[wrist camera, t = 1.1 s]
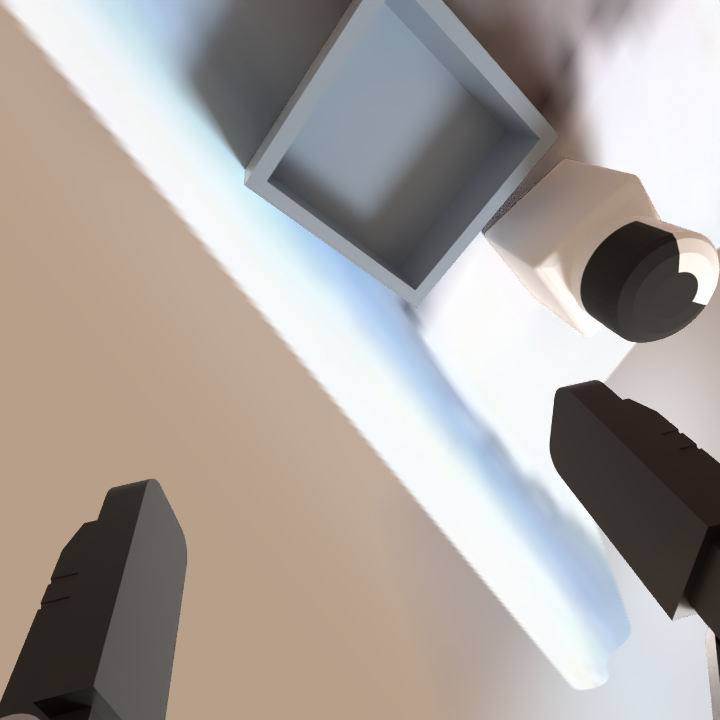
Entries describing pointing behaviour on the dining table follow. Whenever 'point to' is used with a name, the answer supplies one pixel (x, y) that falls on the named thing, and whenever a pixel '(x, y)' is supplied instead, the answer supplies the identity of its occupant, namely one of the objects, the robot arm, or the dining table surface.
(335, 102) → the grey open box
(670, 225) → the medicine bottle
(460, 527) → the dining table surface
